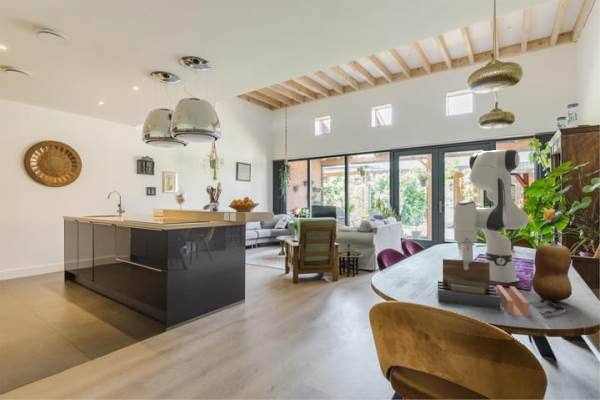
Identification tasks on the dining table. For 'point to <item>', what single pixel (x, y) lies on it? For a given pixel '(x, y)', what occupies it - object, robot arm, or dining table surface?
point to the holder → (513, 301)
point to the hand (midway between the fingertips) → (465, 268)
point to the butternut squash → (552, 272)
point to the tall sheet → (466, 271)
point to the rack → (469, 297)
